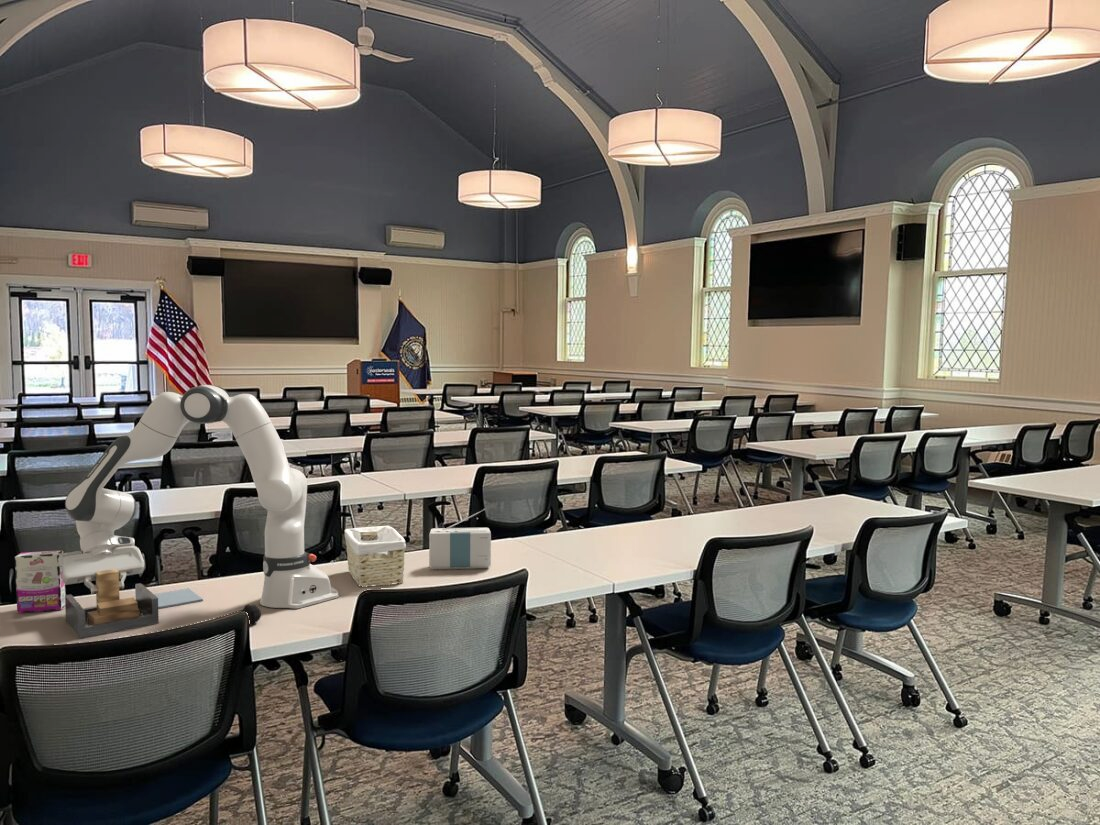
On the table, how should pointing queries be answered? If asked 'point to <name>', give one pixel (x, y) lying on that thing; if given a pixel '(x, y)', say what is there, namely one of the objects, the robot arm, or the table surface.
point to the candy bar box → (39, 582)
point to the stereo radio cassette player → (459, 547)
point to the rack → (79, 614)
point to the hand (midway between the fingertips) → (108, 590)
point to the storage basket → (375, 556)
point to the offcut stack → (114, 611)
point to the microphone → (252, 613)
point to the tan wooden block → (107, 585)
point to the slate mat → (177, 598)
